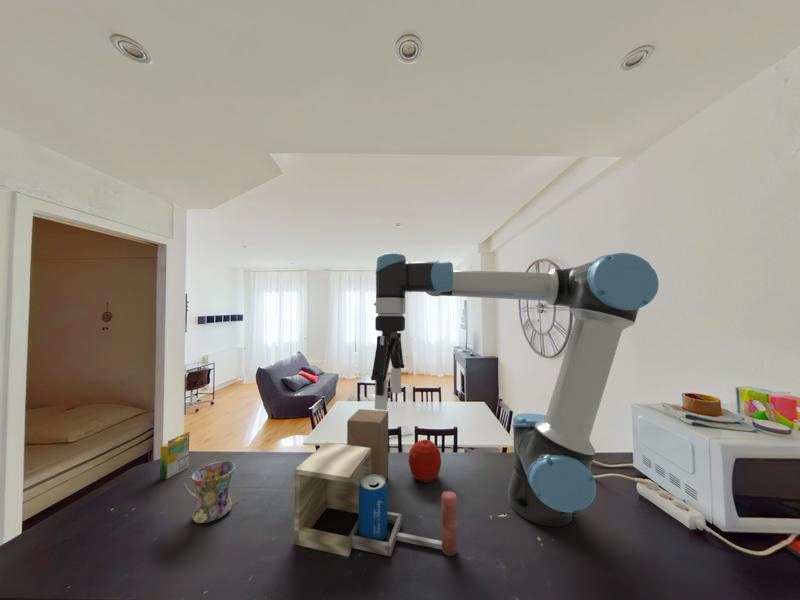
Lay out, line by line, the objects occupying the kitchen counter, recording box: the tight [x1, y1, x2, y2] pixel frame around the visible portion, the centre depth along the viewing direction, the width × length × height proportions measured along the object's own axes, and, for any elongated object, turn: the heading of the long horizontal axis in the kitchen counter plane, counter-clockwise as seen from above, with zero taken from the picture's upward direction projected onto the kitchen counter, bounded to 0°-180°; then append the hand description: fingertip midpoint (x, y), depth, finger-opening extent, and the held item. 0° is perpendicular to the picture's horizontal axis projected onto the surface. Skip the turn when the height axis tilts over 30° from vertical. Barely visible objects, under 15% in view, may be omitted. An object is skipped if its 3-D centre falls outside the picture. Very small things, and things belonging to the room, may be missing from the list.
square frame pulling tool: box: [347, 490, 458, 557], centre depth 62 cm, size 23×10×11 cm, turn 76°
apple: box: [408, 439, 442, 483], centre depth 86 cm, size 10×10×12 cm
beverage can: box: [358, 474, 388, 541], centre depth 64 cm, size 6×6×12 cm
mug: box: [182, 460, 236, 524], centre depth 71 cm, size 12×9×11 cm
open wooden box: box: [293, 442, 371, 558], centre depth 66 cm, size 13×13×16 cm
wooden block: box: [346, 408, 389, 483], centre depth 83 cm, size 10×10×20 cm
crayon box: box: [159, 431, 191, 480], centre depth 89 cm, size 7×3×12 cm, turn 169°
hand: (389, 400), depth 70 cm, fingers open, 13 cm apart
